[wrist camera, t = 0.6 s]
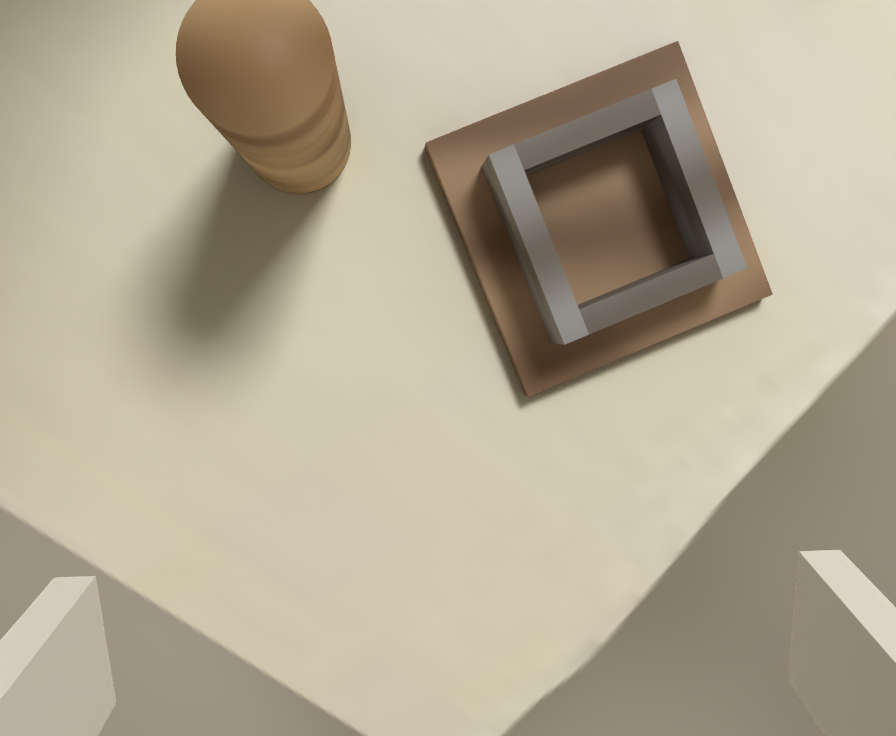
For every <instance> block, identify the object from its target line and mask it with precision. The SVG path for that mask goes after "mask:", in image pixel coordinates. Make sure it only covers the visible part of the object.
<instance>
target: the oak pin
mask: <svg viewBox="0 0 896 736" xmlns="http://www.w3.org/2000/svg"><path fill="white" fill-rule="evenodd" d="M176 63H177V68H178V73H179V77H180V79H181V82H182V85H183V87H184V89H185V91H186V93H187V95H188V96H189V98H190V99H191V101H192V102H193V103H194V105H195V106H196V107H197V108H198V109H199V110H200V111H201V112H202V114H203V115H204V116H205V117H206V118H207V119H208V120H209V121H210V122H211V123H212V124H213V126H214V127H215V128H216V129H217V130H218V131H219V132H220V133H221V134H222V135H223V136H224V138H225V139H226V140H227V141H228V142H229V143H230V144H231V145H232V146H233V147H234V149H235V150H236V151H237V152H238V153H239V154H240V155H241V156H242V157H243V158H244V159H245V161H246V162H247V163H248V164H249V165H250V166H251V167H252V168H253V169H254V170H255V172H256V173H257V174H258V175H259V176H260V177H261V178H262V179H263V180H264V181H265V182H267V183H268V184H270V185H271V186H273V187H275V188H277V189H279V190H282V191H285V192H289V193H297V194H301V193H309V192H314V191H317V190H320V189H322V188H324V187H326V186H327V185H329V184H330V183H331V182H332V181H334V180H335V179H336V178H337V177H338V176H339V174H340V173H341V172H342V170H343V169H344V167H345V165H346V163H347V160H348V157H349V154H350V149H351V135H350V130H349V125H348V120H347V115H346V110H345V105H344V100H343V96H342V91H341V86H340V81H339V76H338V71H337V67H336V62H335V57H334V52H333V47H332V42H331V37H330V34H329V31H328V29H327V26H326V24H325V22H324V20H323V18H322V16H321V15H320V13H319V12H318V10H317V9H316V8H315V7H314V5H313V4H312V3H311V2H310V1H309V0H196V1H195V2H194V3H193V5H192V6H191V7H190V9H189V10H188V12H187V13H186V15H185V17H184V19H183V21H182V23H181V26H180V29H179V32H178V37H177V43H176Z"/></svg>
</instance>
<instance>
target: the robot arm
mask: <svg viewBox="0 0 896 736" xmlns="http://www.w3.org/2000/svg"><path fill="white" fill-rule="evenodd" d="M794 602H795V603H794V613H793V624H792V635H791V646H790V658H789V668H788V680H789V682H790V683H791V685H792V686H793V688H794V689H795V691H796V692H797V694H798V696H799V697H800V699H801V700H802V702H803V703H804V705H805V706H806V708H807V710H808V711H809V713H810V714H811V716H812V717H813V719H814V721H815V722H816V724H817V725H818V727H819V728H820V730H821V731H822V733H823V735H824V736H896V608H895V606H894V605H893V604H892V603H891V602H890V601H889V600H888V599H887V598H886V597H885V596H884V595H883V594H882V593H881V592H880V591H879V590H878V589H877V588H876V587H875V586H874V585H873V584H872V583H871V582H870V581H869V580H868V579H867V577H866V576H865V575H864V574H863V573H862V572H861V571H860V570H859V569H858V568H857V567H856V566H855V565H854V564H853V563H852V562H851V561H850V560H849V559H848V558H847V557H846V556H845V555H844V554H843V553H842V552H841V551H840V550H827V551H826V550H824V551H799V558H798V568H797V579H796V590H795V601H794ZM115 704H116V698H115V692H114V686H113V680H112V674H111V668H110V662H109V655H108V649H107V643H106V638H105V631H104V624H103V618H102V612H101V607H100V600H99V594H98V588H97V581H96V576H88V577H87V576H86V577H58V578H54V579H53V580H52V581H51V582H50V583H49V585H48V586H47V587H46V588H45V589H44V590H43V592H42V593H41V594H40V595H39V596H38V597H37V598H36V600H35V601H34V602H33V603H32V604H31V606H30V607H29V608H28V609H27V610H26V611H25V613H24V614H23V615H22V616H21V617H20V618H19V619H18V621H17V622H16V623H15V624H14V625H13V626H12V628H11V629H10V630H9V631H8V632H7V633H6V635H5V636H4V637H3V638H2V639H1V640H0V736H98V734H99V732H100V731H101V729H102V727H103V725H104V723H105V722H106V720H107V718H108V716H109V715H110V713H111V711H112V709H113V707H114V706H115Z"/></svg>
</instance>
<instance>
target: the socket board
mask: <svg viewBox="0 0 896 736" xmlns="http://www.w3.org/2000/svg"><path fill="white" fill-rule="evenodd" d="M425 148H426V151H427V153H428V156H429V158H430V161H431V163H432V166H433V168H434V171H435V173H436V176H437V178H438V181H439V183H440V185H441V188H442V190H443V193H444V195H445V198H446V200H447V203H448V205H449V208H450V210H451V213H452V215H453V218H454V220H455V223H456V225H457V227H458V230H459V232H460V235H461V237H462V240H463V242H464V245H465V247H466V250H467V252H468V255H469V257H470V260H471V262H472V264H473V267H474V269H475V272H476V274H477V277H478V279H479V282H480V284H481V287H482V289H483V292H484V294H485V297H486V299H487V302H488V304H489V306H490V309H491V311H492V314H493V316H494V319H495V321H496V324H497V326H498V329H499V331H500V334H501V336H502V339H503V341H504V344H505V346H506V348H507V351H508V353H509V356H510V358H511V361H512V363H513V366H514V368H515V371H516V373H517V376H518V378H519V381H520V383H521V385H522V388H523V390H524V393H525V395H526V396H528V397H530V396H532V395H534V394H537V393H539V392H541V391H544V390H546V389H549V388H551V387H553V386H556V385H558V384H561V383H563V382H565V381H568V380H570V379H572V378H575V377H577V376H580V375H582V374H584V373H587V372H589V371H591V370H594V369H596V368H599V367H601V366H603V365H606V364H608V363H611V362H613V361H615V360H618V359H620V358H622V357H625V356H627V355H630V354H632V353H634V352H637V351H639V350H642V349H644V348H646V347H649V346H651V345H653V344H656V343H658V342H661V341H663V340H665V339H668V338H670V337H672V336H675V335H677V334H680V333H682V332H684V331H687V330H689V329H692V328H694V327H696V326H699V325H701V324H703V323H706V322H708V321H711V320H713V319H715V318H718V317H720V316H722V315H725V314H727V313H730V312H732V311H734V310H737V309H739V308H742V307H744V306H746V305H749V304H751V303H753V302H756V301H758V300H761V299H763V298H765V297H768V296H770V295H772V291H771V289H770V286H769V283H768V281H767V278H766V275H765V273H764V270H763V267H762V265H761V262H760V259H759V257H758V254H757V251H756V249H755V246H754V243H753V241H752V238H751V235H750V233H749V230H748V227H747V224H746V222H745V219H744V216H743V214H742V211H741V208H740V206H739V203H738V200H737V198H736V195H735V192H734V190H733V187H732V184H731V182H730V179H729V176H728V174H727V171H726V168H725V166H724V163H723V160H722V158H721V155H720V152H719V150H718V147H717V144H716V142H715V139H714V136H713V134H712V131H711V128H710V126H709V123H708V120H707V118H706V115H705V112H704V109H703V107H702V104H701V101H700V99H699V96H698V93H697V91H696V88H695V85H694V83H693V80H692V77H691V75H690V72H689V69H688V67H687V64H686V61H685V59H684V56H683V53H682V51H681V48H680V45H679V43H678V41H677V42H674V43H672V44H669V45H667V46H664V47H662V48H659V49H657V50H654V51H652V52H649V53H647V54H644V55H642V56H639V57H637V58H634V59H632V60H629V61H627V62H624V63H622V64H620V65H617V66H615V67H612V68H610V69H607V70H605V71H602V72H600V73H597V74H595V75H592V76H590V77H587V78H585V79H582V80H580V81H577V82H575V83H572V84H570V85H567V86H565V87H563V88H560V89H558V90H555V91H553V92H550V93H548V94H545V95H543V96H540V97H538V98H535V99H533V100H530V101H528V102H525V103H523V104H520V105H518V106H515V107H513V108H510V109H508V110H506V111H503V112H501V113H498V114H496V115H493V116H491V117H488V118H486V119H483V120H481V121H478V122H476V123H473V124H471V125H468V126H466V127H463V128H461V129H458V130H456V131H453V132H451V133H449V134H446V135H444V136H441V137H439V138H436V139H434V140H431V141H429V142H426V144H425Z"/></svg>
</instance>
